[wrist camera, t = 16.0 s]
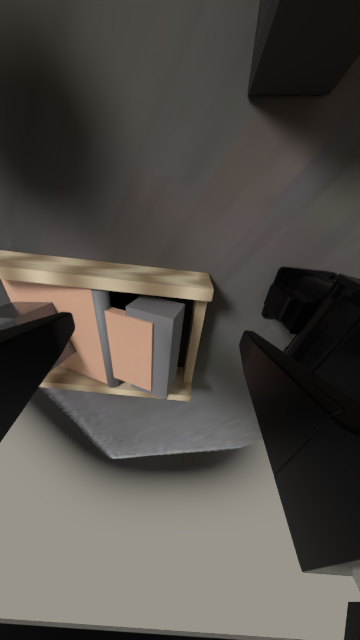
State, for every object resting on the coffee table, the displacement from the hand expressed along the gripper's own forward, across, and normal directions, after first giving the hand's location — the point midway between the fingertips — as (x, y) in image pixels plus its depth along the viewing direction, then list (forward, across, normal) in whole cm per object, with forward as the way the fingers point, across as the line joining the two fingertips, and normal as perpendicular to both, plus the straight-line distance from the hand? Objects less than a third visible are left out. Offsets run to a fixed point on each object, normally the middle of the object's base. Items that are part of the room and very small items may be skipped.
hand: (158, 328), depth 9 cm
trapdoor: (+12, +9, +9) cm, 18 cm away
